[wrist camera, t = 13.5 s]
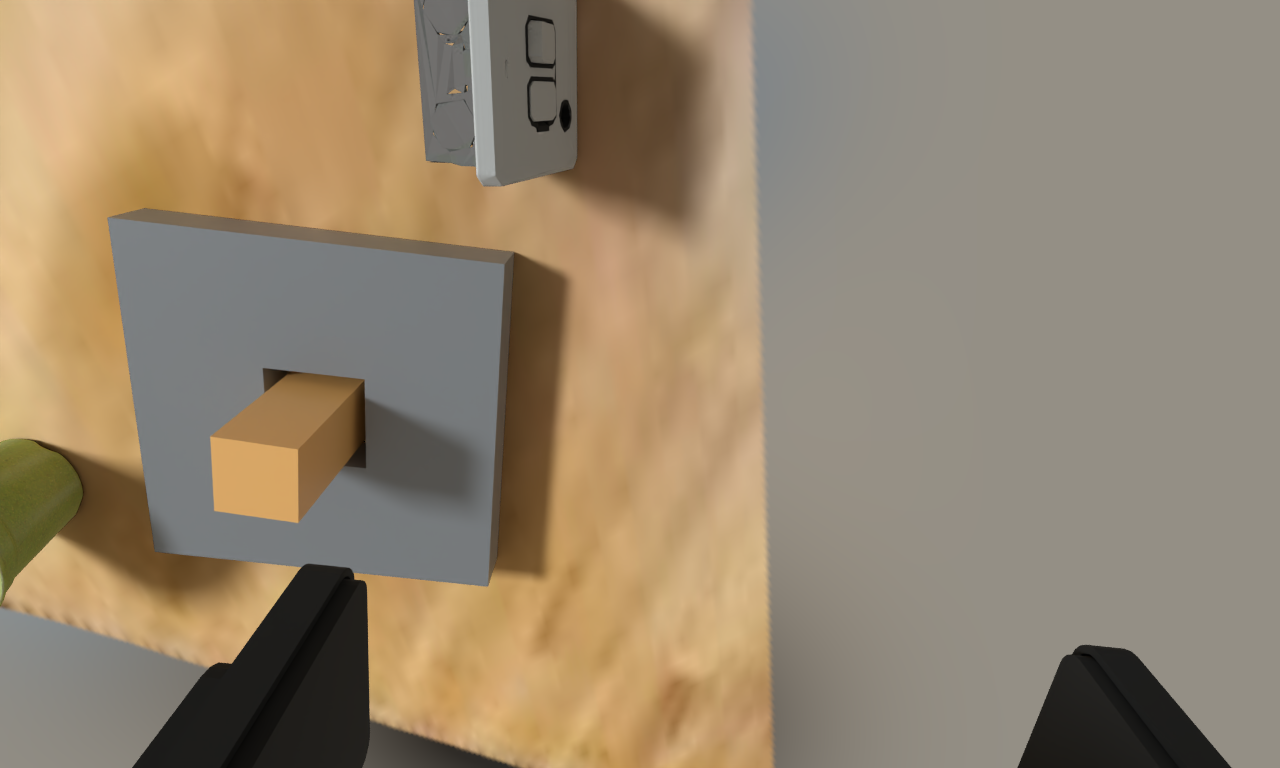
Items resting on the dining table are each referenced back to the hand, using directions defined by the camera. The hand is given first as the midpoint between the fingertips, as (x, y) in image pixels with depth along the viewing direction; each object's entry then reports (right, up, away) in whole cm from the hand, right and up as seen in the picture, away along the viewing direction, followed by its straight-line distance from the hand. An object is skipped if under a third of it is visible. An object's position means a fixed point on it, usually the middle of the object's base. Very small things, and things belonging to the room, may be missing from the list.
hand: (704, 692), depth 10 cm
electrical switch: (-7, +20, +28) cm, 35 cm away
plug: (-19, +3, +35) cm, 40 cm away
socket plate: (-19, +3, +35) cm, 40 cm away
